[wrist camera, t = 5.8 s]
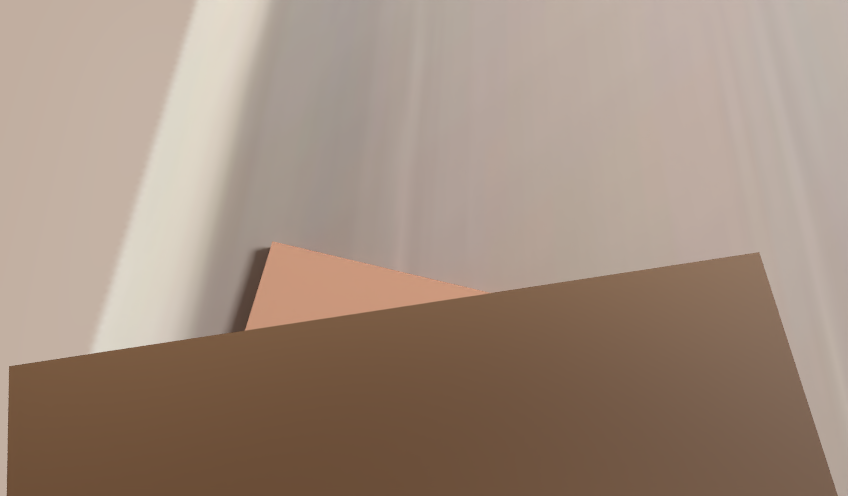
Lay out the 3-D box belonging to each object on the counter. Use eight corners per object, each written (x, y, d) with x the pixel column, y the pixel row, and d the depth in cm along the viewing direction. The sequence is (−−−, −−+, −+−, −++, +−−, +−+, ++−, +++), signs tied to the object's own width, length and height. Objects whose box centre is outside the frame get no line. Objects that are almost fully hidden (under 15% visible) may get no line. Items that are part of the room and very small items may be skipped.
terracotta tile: (542, 699, 16) (548, 710, 15) (163, 614, 16) (154, 622, 15) (595, 321, 19) (602, 319, 18) (275, 246, 19) (272, 241, 18)
